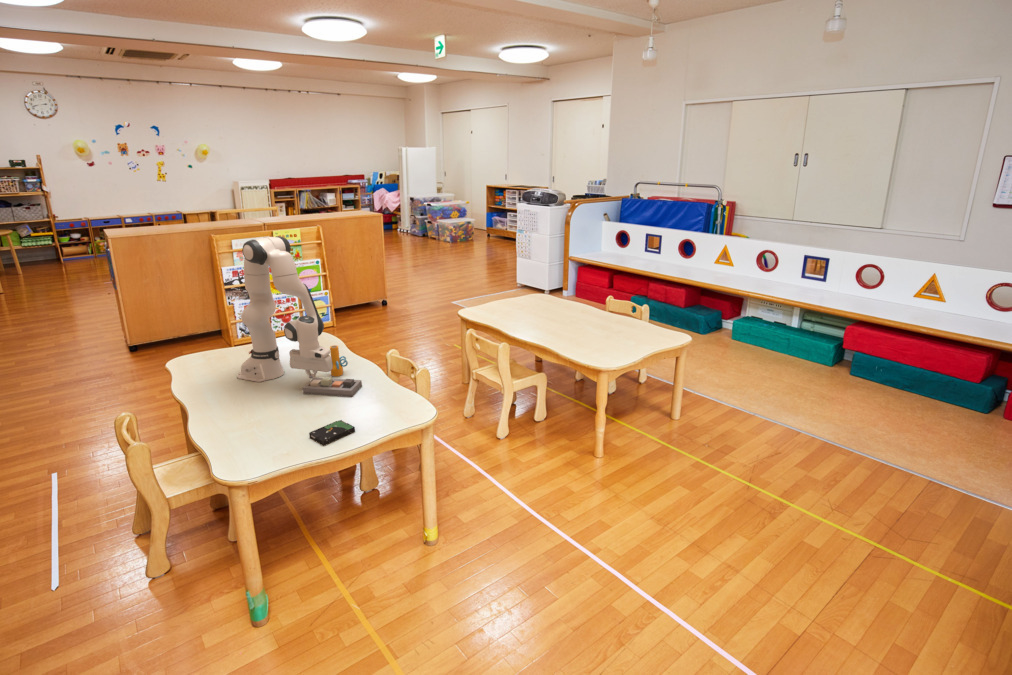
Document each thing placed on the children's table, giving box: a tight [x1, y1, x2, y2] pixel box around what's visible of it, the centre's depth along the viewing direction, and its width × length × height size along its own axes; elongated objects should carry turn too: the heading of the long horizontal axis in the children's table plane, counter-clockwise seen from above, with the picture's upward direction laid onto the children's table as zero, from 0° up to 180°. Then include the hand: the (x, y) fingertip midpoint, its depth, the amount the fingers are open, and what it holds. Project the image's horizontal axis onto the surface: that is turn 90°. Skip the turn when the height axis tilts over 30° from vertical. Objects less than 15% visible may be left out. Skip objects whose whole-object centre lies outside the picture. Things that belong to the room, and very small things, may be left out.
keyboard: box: [302, 377, 363, 398], centre depth 263 cm, size 24×12×3 cm, turn 82°
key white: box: [310, 380, 321, 386], centre depth 264 cm, size 4×4×2 cm
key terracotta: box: [332, 381, 343, 388], centre depth 262 cm, size 4×4×2 cm
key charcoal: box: [343, 378, 355, 387], centre depth 261 cm, size 4×4×2 cm
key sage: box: [321, 377, 332, 386], centre depth 263 cm, size 4×4×2 cm
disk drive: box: [308, 419, 356, 447], centre depth 224 cm, size 10×3×15 cm
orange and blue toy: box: [329, 345, 349, 377], centre depth 279 cm, size 12×10×15 cm
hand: (312, 378), depth 262 cm, fingers closed
